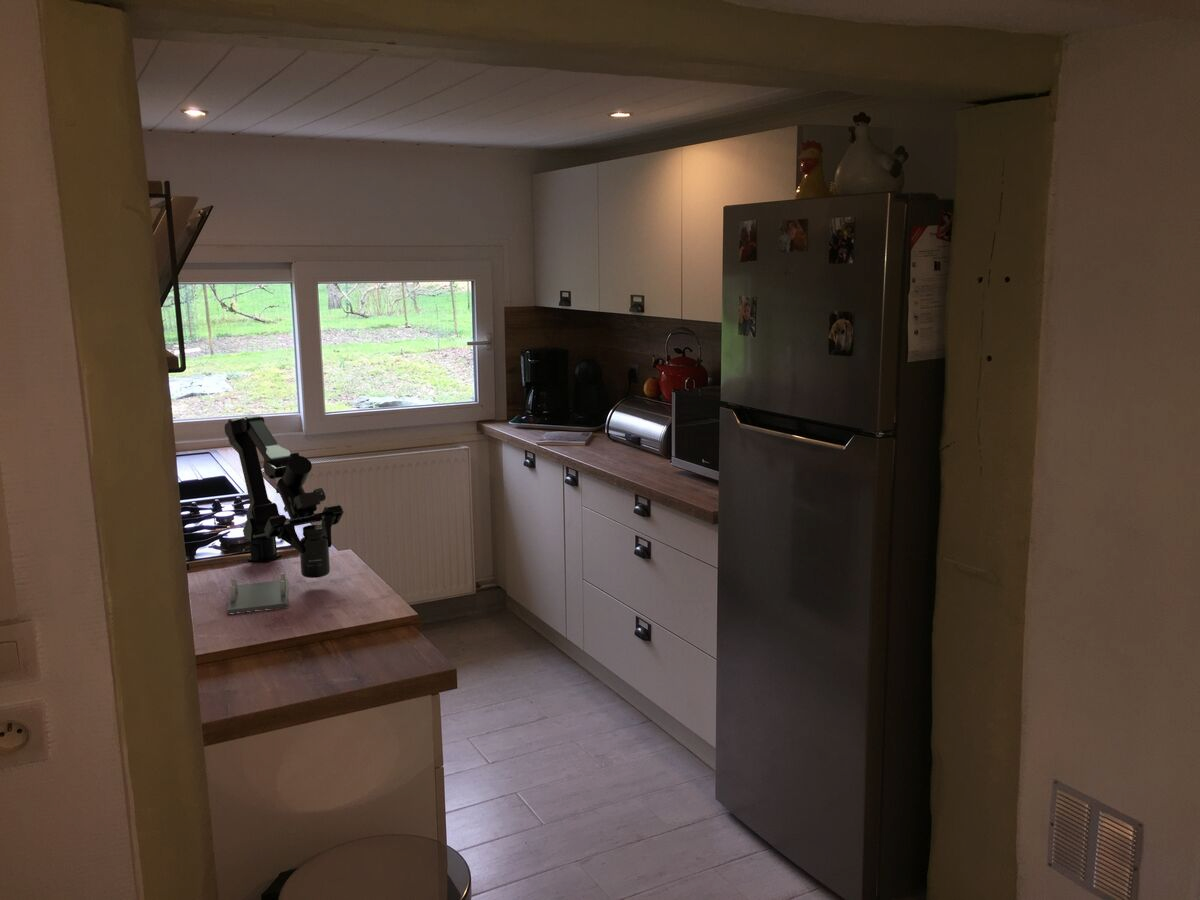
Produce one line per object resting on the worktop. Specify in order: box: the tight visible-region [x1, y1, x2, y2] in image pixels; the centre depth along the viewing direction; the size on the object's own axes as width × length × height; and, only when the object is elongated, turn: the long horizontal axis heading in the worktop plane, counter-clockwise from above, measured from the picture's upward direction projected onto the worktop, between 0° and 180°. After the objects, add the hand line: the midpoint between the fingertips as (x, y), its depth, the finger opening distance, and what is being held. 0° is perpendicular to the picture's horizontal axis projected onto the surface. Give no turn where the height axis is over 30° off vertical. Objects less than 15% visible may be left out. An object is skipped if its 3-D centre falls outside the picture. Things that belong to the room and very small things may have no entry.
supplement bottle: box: [299, 524, 331, 579], centre depth 237 cm, size 7×7×12 cm
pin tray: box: [227, 572, 289, 615], centre depth 231 cm, size 18×13×5 cm
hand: (316, 549), depth 236 cm, fingers closed on supplement bottle, 7 cm apart
